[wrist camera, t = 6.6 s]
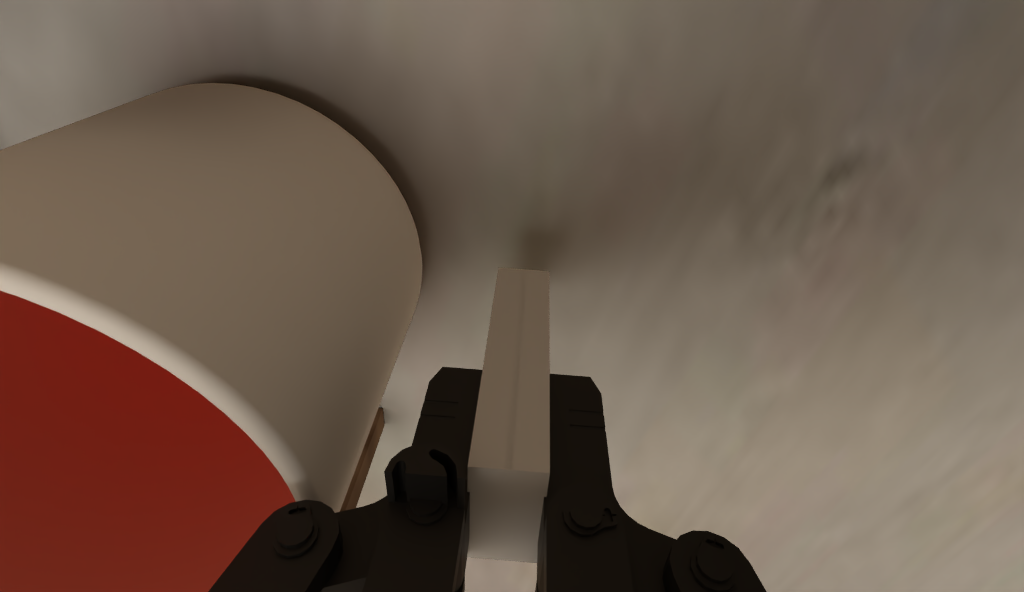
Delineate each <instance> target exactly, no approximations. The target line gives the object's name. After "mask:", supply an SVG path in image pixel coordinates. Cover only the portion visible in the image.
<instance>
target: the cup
mask: <svg viewBox="0 0 1024 592" xmlns="http://www.w3.org/2000/svg"><path fill="white" fill-rule="evenodd" d="M421 283H422V255H421V249H420V244H419V238H418V233H417V229H416V226H415V223H414V220H413V217H412V215H411V212H410V210H409V208H408V205H407V203H406V201H405V199H404V198H403V196H402V194H401V192H400V190H399V189H398V187H397V185H396V184H395V182H394V181H393V180H392V178H391V177H390V175H389V174H388V172H387V171H386V170H385V168H384V167H383V166H382V165H381V164H380V163H379V161H378V160H377V159H376V158H375V157H374V156H373V154H372V153H371V152H369V151H368V150H367V149H366V148H365V147H364V146H363V145H362V144H361V143H360V142H359V141H358V140H357V139H356V138H355V137H353V136H352V135H351V134H350V133H348V132H347V131H346V130H344V129H343V128H342V127H341V126H339V125H338V124H336V123H335V122H333V121H332V120H330V119H329V118H327V117H326V116H324V115H322V114H321V113H319V112H317V111H315V110H313V109H312V108H310V107H308V106H306V105H304V104H302V103H300V102H298V101H295V100H292V99H290V98H287V97H285V96H282V95H279V94H277V93H273V92H269V91H266V90H262V89H258V88H254V87H249V86H242V85H236V84H223V83H201V84H189V85H183V86H178V87H173V88H169V89H166V90H163V91H159V92H156V93H153V94H151V95H148V96H145V97H142V98H140V99H137V100H134V101H132V102H129V103H126V104H124V105H121V106H118V107H116V108H113V109H110V110H107V111H105V112H102V113H99V114H97V115H94V116H91V117H89V118H86V119H83V120H81V121H78V122H75V123H72V124H70V125H67V126H64V127H62V128H59V129H56V130H54V131H51V132H48V133H46V134H43V135H40V136H38V137H35V138H32V139H29V140H27V141H24V142H21V143H19V144H16V145H13V146H11V147H8V148H5V149H2V150H0V592H208V591H209V590H210V589H211V587H212V586H213V585H214V583H215V582H216V581H217V580H218V578H219V577H220V576H221V575H222V573H223V572H224V571H225V569H226V568H227V567H228V566H229V564H230V563H231V562H232V561H233V559H234V558H235V557H236V555H237V554H238V553H239V552H240V550H241V549H242V548H243V547H244V545H245V544H246V543H247V541H248V540H249V539H250V538H251V536H252V535H253V534H254V533H255V531H256V530H257V529H258V527H259V526H260V525H261V524H262V523H263V522H264V521H265V520H266V519H267V518H268V517H269V516H270V515H271V514H272V513H273V512H274V511H276V510H278V509H279V508H281V507H283V506H285V505H287V504H289V503H292V502H297V501H302V500H314V501H321V502H323V503H324V504H326V505H328V506H329V507H331V508H332V509H333V511H334V513H336V512H340V510H341V507H342V504H343V501H344V499H345V496H346V493H347V491H348V488H349V485H350V483H351V480H352V477H353V475H354V472H355V469H356V467H357V464H358V461H359V459H360V456H361V453H362V451H363V448H364V445H365V443H366V440H367V437H368V435H369V432H370V429H371V427H372V424H373V421H374V419H375V416H376V413H377V411H378V408H379V405H380V403H381V400H382V397H383V394H384V392H385V389H386V386H387V384H388V381H389V378H390V376H391V373H392V370H393V368H394V365H395V362H396V360H397V357H398V354H399V352H400V349H401V346H402V344H403V341H404V338H405V336H406V333H407V330H408V327H409V325H410V322H411V319H412V317H413V314H414V311H415V309H416V306H417V302H418V299H419V295H420V289H421Z"/></svg>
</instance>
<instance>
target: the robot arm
mask: <svg viewBox="0 0 1024 592" xmlns="http://www.w3.org/2000/svg"><path fill="white" fill-rule="evenodd" d="M384 472H385V480H386V488H387V496H386V497H384V498H383V499H381V500H379V501H377V502H375V503H373V504H370V505H367V506H363V507H359V508H355V509H350V510H345V511H341V512H336V513H334V511H333V509H332V508H331V507H329V506H328V505H326V504H324V503H323V502H321V501H314V500H302V501H297V502H292V503H289V504H287V505H285V506H283V507H281V508H279V509H278V510H276V511H274V512H273V513H272V514H271V515H270V516H269V517H268V518H267V519H266V520H265V521H264V522H263V523H262V524H261V525H260V526H259V527H258V529H257V530H256V531H255V533H254V534H253V535H252V536H251V538H250V539H249V540H248V541H247V543H246V544H245V545H244V547H243V548H242V549H241V550H240V552H239V553H238V554H237V555H236V557H235V558H234V559H233V561H232V562H231V563H230V564H229V566H228V567H227V568H226V569H225V571H224V572H223V573H222V575H221V576H220V577H219V578H218V580H217V581H216V582H215V583H214V585H213V586H212V587H211V589H210V590H209V591H208V592H464V590H465V568H466V561H467V557H471V558H483V559H495V560H507V561H518V562H530V563H537V583H536V590H535V592H766V590H765V588H764V587H763V585H762V583H761V581H760V580H759V578H758V576H757V574H756V573H755V571H754V569H753V567H752V566H751V564H750V562H749V561H748V560H747V558H746V557H745V556H744V555H743V553H742V552H741V551H740V550H739V548H738V547H736V546H735V545H734V544H732V543H731V542H729V541H728V540H727V539H725V538H724V537H722V536H719V535H716V534H714V533H711V532H709V531H691V532H688V533H686V534H683V535H680V536H679V538H678V539H677V540H676V539H673V538H671V537H668V536H666V535H663V534H661V533H658V532H656V531H653V530H651V529H648V528H646V527H644V526H642V525H640V524H639V523H637V522H636V521H634V520H633V519H632V518H631V517H629V516H628V515H627V514H626V513H625V511H624V510H623V509H622V508H621V507H620V505H619V503H618V502H617V500H616V498H615V495H614V492H613V488H612V480H611V472H610V463H609V455H608V447H607V438H606V431H605V422H604V416H603V405H602V397H601V393H600V391H599V390H598V388H597V387H596V385H595V384H594V382H593V381H592V379H591V377H584V376H571V375H558V374H550V365H549V271H541V270H527V269H514V268H500V267H499V268H498V275H497V281H496V287H495V294H494V300H493V307H492V313H491V320H490V326H489V332H488V339H487V345H486V352H485V358H484V364H483V370H476V369H463V368H450V367H442V368H441V369H440V370H439V372H438V373H437V374H436V375H435V376H434V377H433V378H432V379H431V381H430V382H429V385H428V389H427V392H426V396H425V401H424V403H423V407H422V411H421V416H420V418H419V422H418V425H417V429H416V432H415V436H414V440H413V443H412V446H411V447H408V448H406V449H403V450H402V451H401V452H399V453H398V454H397V455H396V456H394V457H393V458H392V459H391V461H390V462H389V464H388V466H387V468H386V469H385V471H384Z"/></svg>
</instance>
